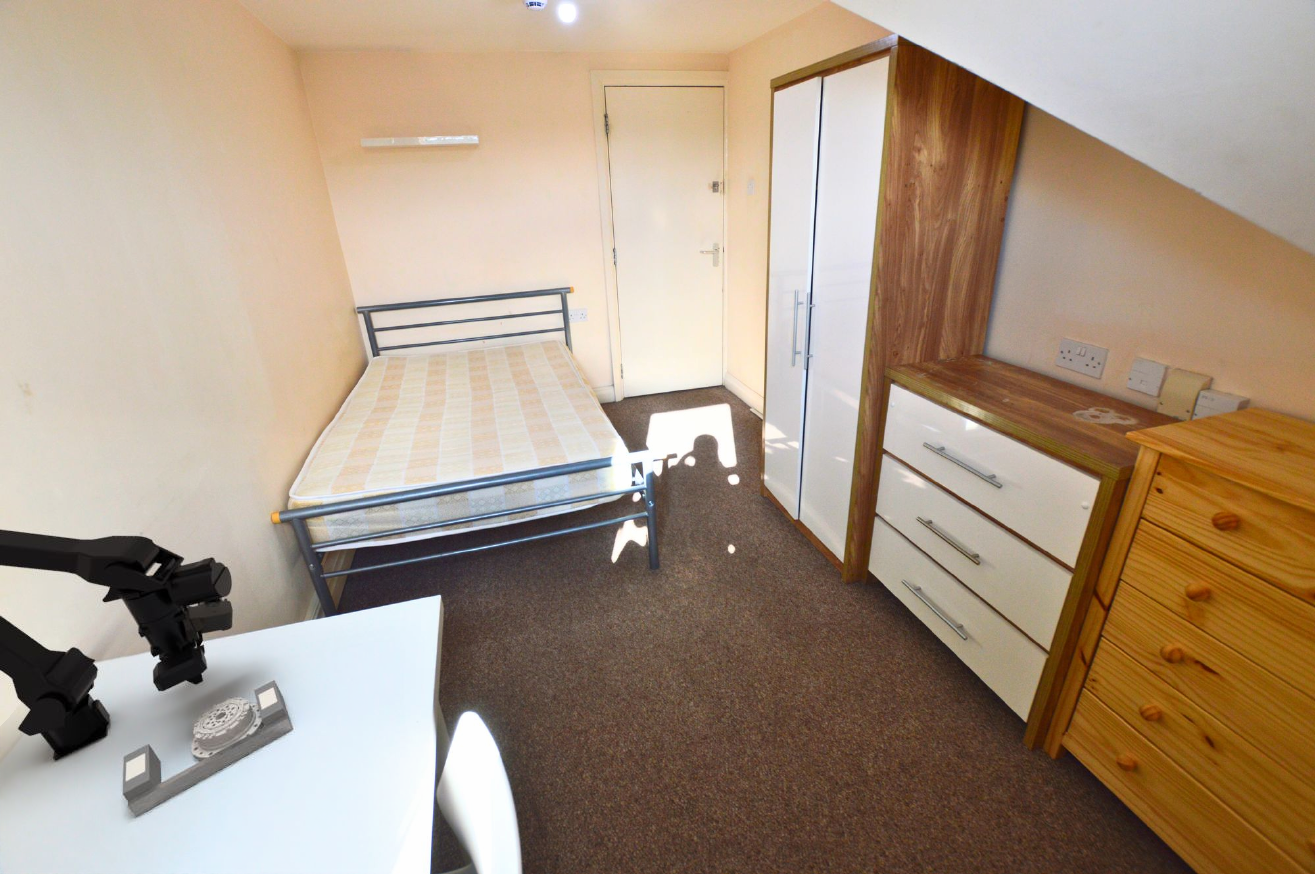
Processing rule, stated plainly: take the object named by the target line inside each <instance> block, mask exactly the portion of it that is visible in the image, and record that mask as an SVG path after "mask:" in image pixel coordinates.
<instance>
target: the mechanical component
mask: <svg viewBox="0 0 1315 874" xmlns="http://www.w3.org/2000/svg"><path fill="white" fill-rule="evenodd" d="M248 701H249V700H246V699H245V698H242V697H238V698H237V697H233V698H232V699H231V698H227V699H226V701H223V702H222V703H219V704H218V703H216V704H214V705H213V707H212V708H211V709H209V710H208V711H207V712H204V713H201V717H199V718H197V721H196V723H194V724H193V725H194V728H193V736H194V737H193V738H192V741H191V744H190V750H191V753H192V754H193V757H194V758H195V759H196V760H197V761H198V762H200V761H202V760H204V759H206V758H208V757H209V756H211V755H213V754H215V753H217V752H219V751H220V750H222V749H224V748H226V747H228V746H230V745H232V744H233V743H235V742H237V741H239V740H241V739H243V738H244V737H246V736H248V735H250V734H252V733H254V732H255V731H257V730H259V729H261V728H263V727H265V725H264V724H263V722H262V720H261V716H260V712H259V708H258V704H257V703H254V702H250V703H249V702H248Z"/></svg>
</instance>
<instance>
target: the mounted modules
mask: <svg viewBox="0 0 1315 874" xmlns="http://www.w3.org/2000/svg"><path fill="white" fill-rule="evenodd" d="M253 691H254V692H253V693H254V694H255V695H254V696H255V699H256V704H258V708H259V712H260V716H261V720H262V722H263V724H264V727H265V726H266V725H268V724H270V723H272V722H274V721H276V720H277V719H279V718H281V717H283V716H285V715H287V717H288V719H289V721H290V723H291V724H292V721H291V719H290V716H289V712H288V709H287V706H286V702H285V699H284V696H283V694H282V692H281V690H280V688H279V686H278V684H277V683H276V680H275V679H273V680H272V681H269V682H268V683H266V684H264V685H261V686H260V687H258V688H256V689H254V690H253ZM122 762H123V768H122V795H123V797H124V799H126V801H127V802H128V801H129V800H130V799H132V798H134V797H136V796H138V795H140V794H141V793H143V792H145V791H147V790H149V789H151V788H152V787H154V786H156V785H158V784H160V783H162V768H161V767H162V765H161V760H160V759H159V757H158V755H157V754H156V752H155V751H154V749H153V748H152V747H151V745H150V744H149V743H147V744H145V745H144V746H142V747H140V748H138V749H135V750H133V751H132V752H129V753H128V754H126V755H124V756H123V761H122Z"/></svg>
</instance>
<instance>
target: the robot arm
mask: <svg viewBox="0 0 1315 874" xmlns="http://www.w3.org/2000/svg"><path fill="white" fill-rule="evenodd" d="M184 561H185V558H184V557H183V556H181V555H179V554H177V553H175V552H173V551H171V550H169V549H166V548H164V547H162V546H161V545H158V544H155V542H154V540H153V539H151V538H149V537H147V536H146V537H145V536H142V535H111V536H110V535H109V536H105V537H99V538H93V539H92V538H91V539H86V538H85V539H83V538H73V537H65V536H58V535H49V534H39V533H33V532H32V533H31V532H24V531H18V530H8V529H0V566H2V567H3V566H4V567H11V568H21V569H30V570H31V569H32V570H41V571H51V572H61V573H67V574H68V573H69V574H72V575H76V576H78V577H79V578H81V579H82V580H84V581H86V582H87V583H89V584H92V585H97V586H102V587H106V588H109V589H108V591H107V593H106V594H105V596H104V597H103V598H102V600H101V601H102V602H103V603H110V602H113V601H118V600H122V601H123V604H124V605H125V606H126V608H127V610H128V611H129V613H130V615H131V617H132V618H133V620H134V621H135V623H136V625H137V627H138V630H137V631H138V635H139V636H140V638H145V640H146V641H147V642H148V644H149V646H150V649H149V650H150V651H149V652H150V654H151V655H152V657H153V658H155V657H158V660H159V661H158V662H157V663H156V665H155V666H154V668H153V669H152V682H153V685H154V686H155V688H156V689H157V691H158V692H164V691H167V690H169V689H172V688H174V687H175V686H177V685H180V684H181V683H183V682H187V683H191V684H192V685H199V684H201V683H203V682H204V678H203V673H204V672H205V671H206V670H208V664H207V658H206V656H205V654H206V650H205V644H202V643H203V642H204V637H203V634H208V633H212V632H214V633H215V632H218V631H219V632H220V631H221V632H225V631H228V630H230V629H232V628H233V615H234V613H233V611H234V610H233V605H232V603H231V601H230V600H228V598H226V597H228V596H229V595H230V594H231V591H232V586H233V582H232V581H233V579H232V575H231V572H230V569H229V568H228V566H226V565H225V564H224V563H222V562H220V561H219V562H217V561H216V559H215V558H214V557H212V556H211V557H207V558H203V559H201V560H198V561H195V562H190V563H187V564H182V563H183V562H184ZM155 564H159V566H158V567H157V569H156V570H155V571H154V573H153V574H151V575H150V574H149V575H148V573H149V572H150V571H151V569H152V568H153V567H154V566H155ZM223 598H224V599H223ZM95 662H96V659H94V658H92V657H89V656H87V655H85V654H84V653H83V652H82V651H81V649H79V648H78V647H73V646H72V647H70V648H69V649H68V650H66V651H62V650H52V649H48V648H47V647H45V646H44V645H43V644H41V643H40V642H38V641H37V640H36V639H34V638H33V637H31V636H30V635H28V634H27V633H26V632H24V631H23V630H22V629H20V628H19V627H18V626H16V625H15V624H13V623H12V622H11V621H9V620H8V619H6V618H5V617H3V616H2V615H0V671H1V672H2V673H3V674H6V675H7V676H8V677H9V678H10V679H11V680H12V684H13V686H14V691H15V694H16V696H17V699H18V700H19V701H20V702H21V703H22V704H24V706H25V707H26V708H27V709H28V710H29V711H28V712H27V714H26V715H25V717H24V718H23V720H22V722H21V723H20V725H19V726H18V727H17V730H18V731H20V733H24V734H25V735H27V736H29V737H33V736H36V735H39V734H40V735H41V737H42V738H43V739H44V740H45V741H46V742H47V744H48V745H49V747H50V748H51V749H52V750H53V754H52V755H53V756H52V759H53V760H54V761H58V760H60V759H62V758H65V757H66V756H69V755H71V754H73V753H76V752H77V751H79V750H81V749H83V748H86V747H87V746H89V745H91V744H93V743H94V744H95V742H99V741H100V740H102V739H104V738H106V737H107V735H108V727H109V725H110V717H111V714H109V712H108V710H107V709H106V707H105V706H104V705H103V704H102V702H101V701H100V699H99V698H98V699H94V698H93V697H92V696H91V694H90V691H91V690H93V688H94V687H95V680H96V679H97V677H98V671H99V669H98V667H97V666H96V665H95Z"/></svg>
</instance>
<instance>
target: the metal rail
mask: <svg viewBox="0 0 1315 874" xmlns="http://www.w3.org/2000/svg"><path fill="white" fill-rule="evenodd" d="M290 721H291V720H290ZM290 721H289V719H288V717H287V715H285V716H283V717H281V718H279V719H277V720H276V721H274V722H272V723H270V724H268V725H266V726H265V725H264V727H263V728H261V729H259V730H257V731H255V732H254V733H252V734H250V735H248V736H246V737H244V738H243V739H241V740H239V741H237V742H235V743H233V744H232V745H230V746H228V747H226V748H224V749H222V750H220V751H219V752H217V753H215V754H213V755H211V756H209V757H208V758H206V759H204V760H202V761H198V762H197V763H195V764H193V765H191V766H190V767H188V768H186V769H184V770H182V771H180V772H178V773H176V774H175V775H173V776H171V777H169V778H167V779H165V780H163V781H161V783H160V784H158V785H156V786H154V787H152V788H151V789H149V790H147V791H145V792H143V793H141V794H140V795H138V796H136V797H134V798H132V799H130V800H129V801H127V808H128V809H129V810H130V811H131V813H132V814H133V816H134V817H135V818H137V817H139V816H141V815H143V814H145V813H146V812H148V811H150V810H151V809H153V808H155V807H157V806H159V805H160V804H163V803H165V802H166V801H168V800H169V799H171V798H173V797H174V796H176V795H177V796H178V794H180V793H183V792H184V791H186V790H187V789H189V788H191V787H193V786H194V785H197V784H198V783H200V782H201V781H203V780H205V779H207V778H209V777H211V776H212V775H214V774H216V773H218V772H220V771H221V770H223V769H225V768H226V767H228V766H230V765H232V764H234V763H236V762H237V761H240V759H243V758H245V757H247V756H248V755H249V754H251V753H254V752H255V751H257V750H259V749H261V748H262V747H265V746H266V745H268V744H269V743H272V742H273V741H275V740H277V739H278V738H280V737H281V736H282V737H283V736H284V735H285V734H287V733H289V732H290V731H293V730H294V729H293V725H292V722H291V723H290Z"/></svg>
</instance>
